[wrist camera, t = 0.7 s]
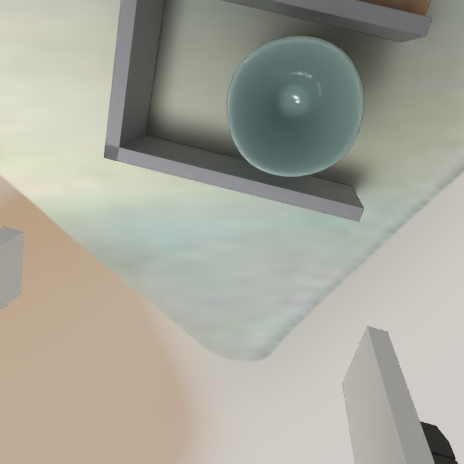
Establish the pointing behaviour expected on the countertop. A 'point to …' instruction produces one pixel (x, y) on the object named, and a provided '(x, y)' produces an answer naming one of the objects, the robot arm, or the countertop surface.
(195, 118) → the countertop surface
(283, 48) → the cup
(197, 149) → the bay
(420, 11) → the tray
